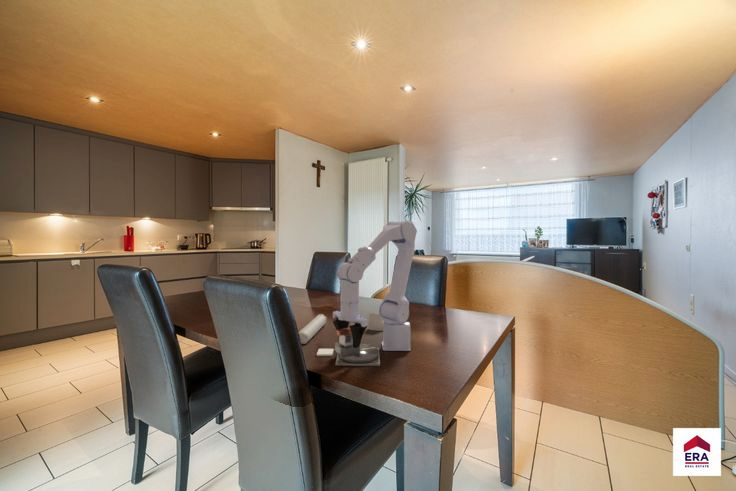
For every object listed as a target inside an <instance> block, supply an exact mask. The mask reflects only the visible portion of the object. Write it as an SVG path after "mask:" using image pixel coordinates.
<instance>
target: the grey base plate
mask: <svg viewBox="0 0 736 491" xmlns="http://www.w3.org/2000/svg"><path fill="white" fill-rule="evenodd" d="M378 348H379V347H377V346H374V345H372V344H367V343H360V347H358V348H353V347H346V348H342V347H341V346H340V345H339V342H338V341H337V342H334V351H335V352H336V353H337V355H338V357H339V358H340V359H341V360H343V361H346V362H351V363H365V362H370V361H373V360H375V359H377V358H378V356H379V357H380V349H379V350H378Z"/></svg>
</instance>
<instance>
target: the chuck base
mask: <svg viewBox="0 0 736 491" xmlns="http://www.w3.org/2000/svg"><path fill="white" fill-rule="evenodd" d="M377 348H378V350H379V351H380V349H379V347H377ZM335 366H351V367H353V366H357V367H358V366H362V367H363V366H365V367H366V366H367V367H368V366H372V367H373V366H374V367H375V366H376V367H377V366H378V367H379V366H381V360H380V355H379V356H378V358H377V359H375V360H373V361H370V362H365V363H351V362H346V361H343V360H341V359H340V358H339V357H338V354H337V355H336V359H335Z"/></svg>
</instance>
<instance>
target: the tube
mask: <svg viewBox="0 0 736 491" xmlns="http://www.w3.org/2000/svg"><path fill="white" fill-rule="evenodd" d="M327 318H328V317H327V316H325V315H324V314H322V313H320V314H317V315H316V316H315V317H314V318H313V319H312V320H311V321H309V323H307V324H306V325H305V326H304V327H302V329H300V331H298V333H299V335H300V338H301V343H302V344H301V345H306V344H308V342H310V340H312V338H313V337H314V336H315V335H316V334H317V333H318V332H320V330H321V329H322V328H323V327H324V326H326V324H327V322H328V321H327V320H328V319H327Z"/></svg>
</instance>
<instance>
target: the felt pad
mask: <svg viewBox="0 0 736 491" xmlns="http://www.w3.org/2000/svg"><path fill="white" fill-rule="evenodd" d="M334 351H335V348H318V350H317V352H316V357H333V356H334Z"/></svg>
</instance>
